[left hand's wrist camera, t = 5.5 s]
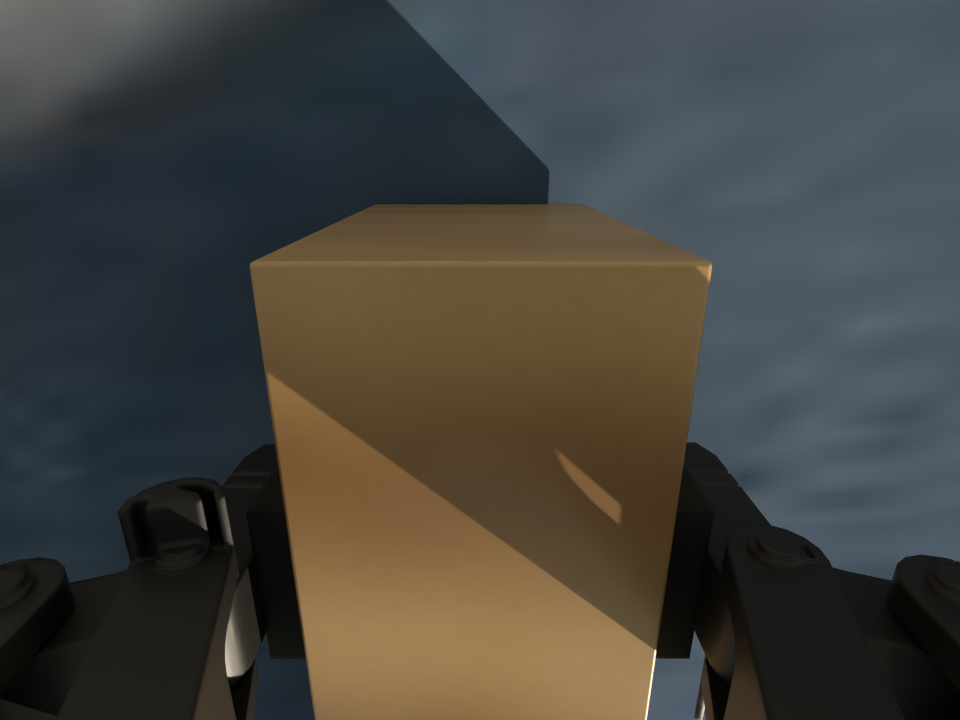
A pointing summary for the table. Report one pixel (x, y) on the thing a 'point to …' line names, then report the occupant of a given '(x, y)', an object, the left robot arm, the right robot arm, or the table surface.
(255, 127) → the table surface
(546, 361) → the beam
